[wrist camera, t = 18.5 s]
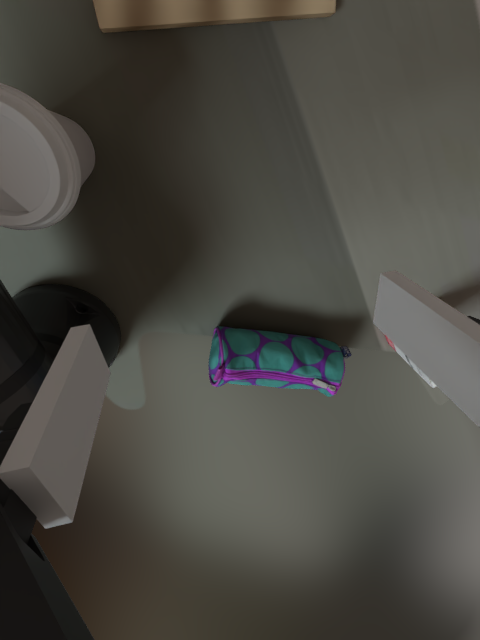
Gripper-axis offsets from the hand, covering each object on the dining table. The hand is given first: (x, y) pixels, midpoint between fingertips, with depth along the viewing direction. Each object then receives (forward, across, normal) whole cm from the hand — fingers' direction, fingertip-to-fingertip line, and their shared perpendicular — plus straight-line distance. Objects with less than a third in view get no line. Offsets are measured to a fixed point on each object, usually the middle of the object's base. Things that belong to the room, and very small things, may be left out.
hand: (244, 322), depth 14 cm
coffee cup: (+29, -14, +7) cm, 33 cm away
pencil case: (+29, +8, -24) cm, 38 cm away
